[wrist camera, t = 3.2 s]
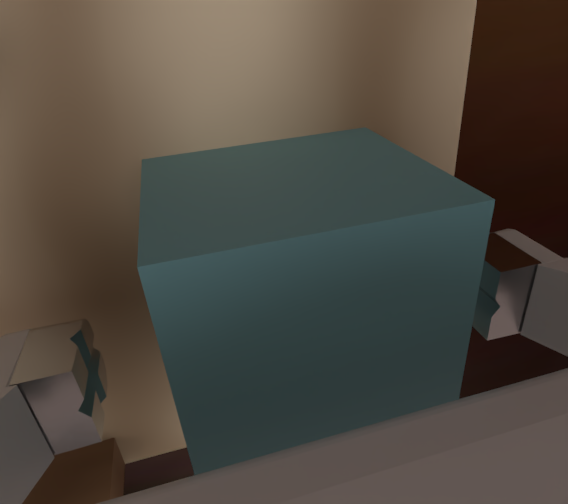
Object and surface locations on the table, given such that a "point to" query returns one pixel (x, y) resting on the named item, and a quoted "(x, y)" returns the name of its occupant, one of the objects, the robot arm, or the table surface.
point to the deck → (177, 140)
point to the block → (307, 287)
